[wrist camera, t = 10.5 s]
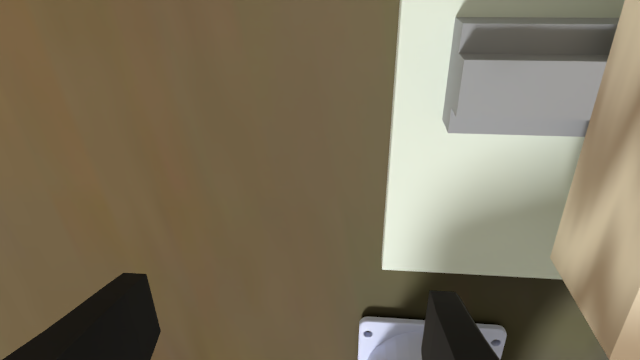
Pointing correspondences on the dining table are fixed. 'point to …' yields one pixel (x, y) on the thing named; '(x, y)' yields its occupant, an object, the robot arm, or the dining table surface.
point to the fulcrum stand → (489, 130)
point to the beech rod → (608, 203)
